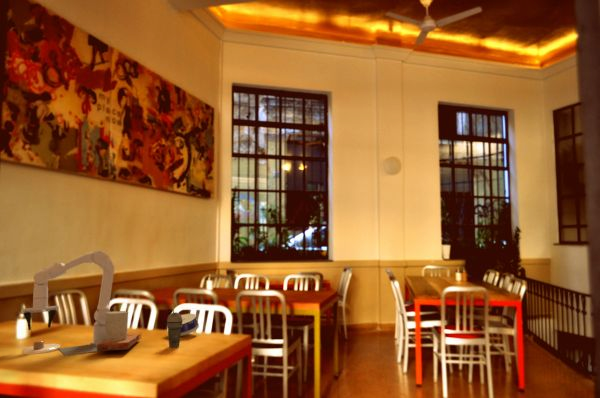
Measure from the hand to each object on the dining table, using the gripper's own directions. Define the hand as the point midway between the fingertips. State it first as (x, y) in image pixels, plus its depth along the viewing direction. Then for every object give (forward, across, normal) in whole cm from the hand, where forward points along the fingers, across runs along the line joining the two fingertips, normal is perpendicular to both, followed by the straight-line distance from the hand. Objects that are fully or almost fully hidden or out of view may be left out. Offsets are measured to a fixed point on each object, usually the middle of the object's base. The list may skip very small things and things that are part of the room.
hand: (39, 328), depth 203 cm
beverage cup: (+10, -52, +28) cm, 60 cm away
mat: (+10, -15, +12) cm, 22 cm away
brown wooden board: (+8, -31, +17) cm, 36 cm away
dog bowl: (+2, -65, +5) cm, 65 cm away
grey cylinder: (+6, -28, +19) cm, 34 cm away
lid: (+10, 0, +1) cm, 10 cm away
